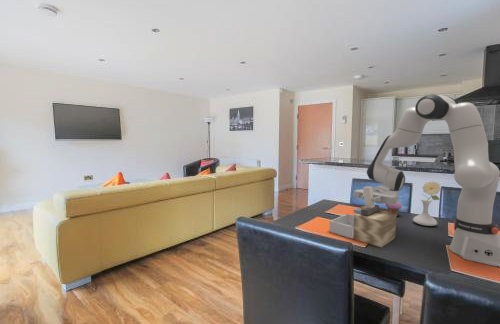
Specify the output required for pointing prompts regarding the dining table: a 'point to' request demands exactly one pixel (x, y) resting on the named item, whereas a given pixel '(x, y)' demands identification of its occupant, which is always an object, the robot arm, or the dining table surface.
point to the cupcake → (394, 208)
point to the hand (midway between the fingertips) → (368, 198)
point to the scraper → (369, 202)
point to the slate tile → (357, 211)
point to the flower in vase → (424, 217)
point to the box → (343, 226)
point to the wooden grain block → (375, 228)
